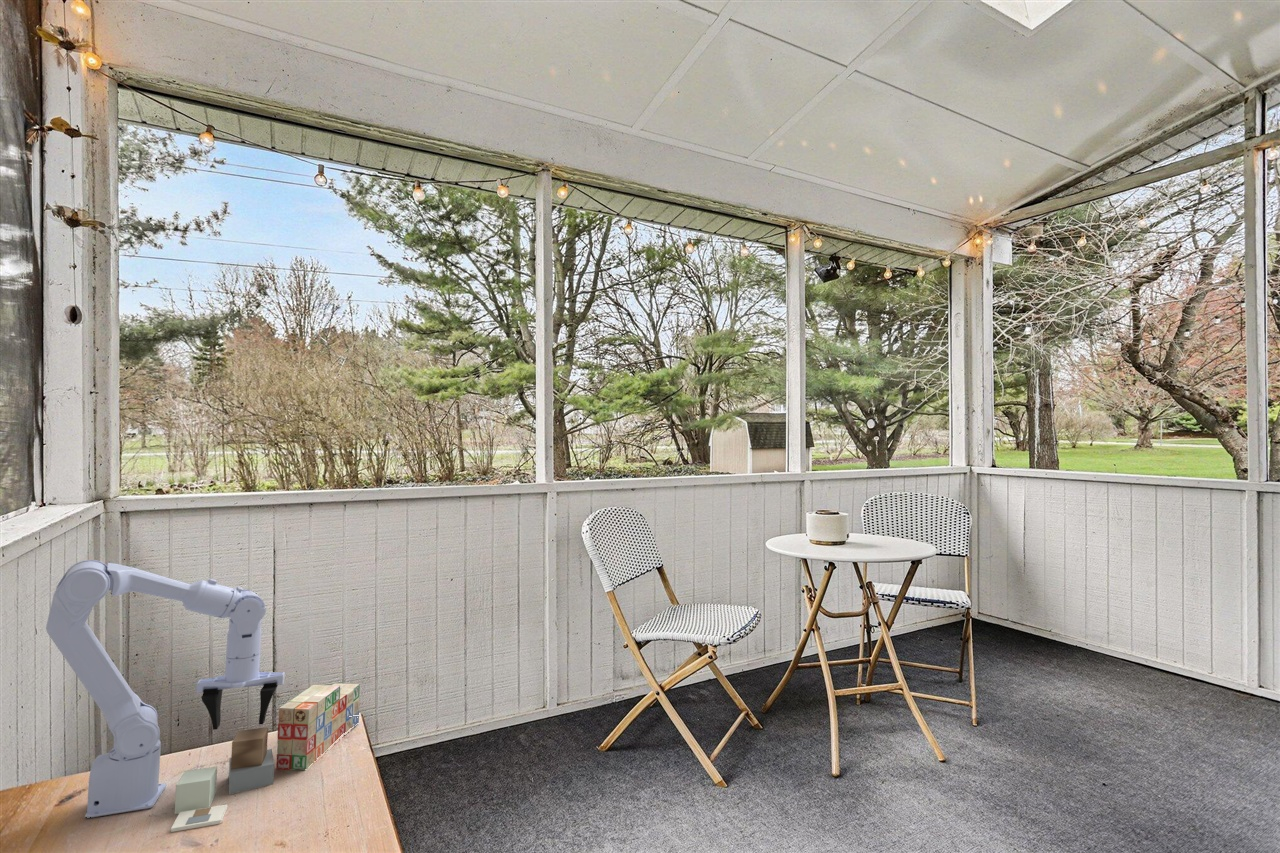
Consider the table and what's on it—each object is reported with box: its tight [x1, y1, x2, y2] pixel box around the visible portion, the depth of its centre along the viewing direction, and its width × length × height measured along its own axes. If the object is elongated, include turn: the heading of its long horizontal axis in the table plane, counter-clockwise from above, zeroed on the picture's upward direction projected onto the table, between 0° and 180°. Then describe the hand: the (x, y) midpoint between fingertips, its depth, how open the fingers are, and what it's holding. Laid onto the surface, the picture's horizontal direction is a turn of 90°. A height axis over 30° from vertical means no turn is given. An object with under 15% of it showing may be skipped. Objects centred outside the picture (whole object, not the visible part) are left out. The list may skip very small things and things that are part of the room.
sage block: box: [174, 765, 218, 815], centre depth 111 cm, size 5×5×5 cm
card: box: [170, 803, 228, 833], centre depth 106 cm, size 7×5×1 cm
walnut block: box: [230, 726, 269, 769], centre depth 119 cm, size 5×5×5 cm
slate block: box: [228, 748, 275, 795], centre depth 119 cm, size 7×7×4 cm
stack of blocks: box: [275, 682, 361, 770], centre depth 134 cm, size 21×6×12 cm, turn 178°
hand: (239, 724), depth 121 cm, fingers open, 7 cm apart
